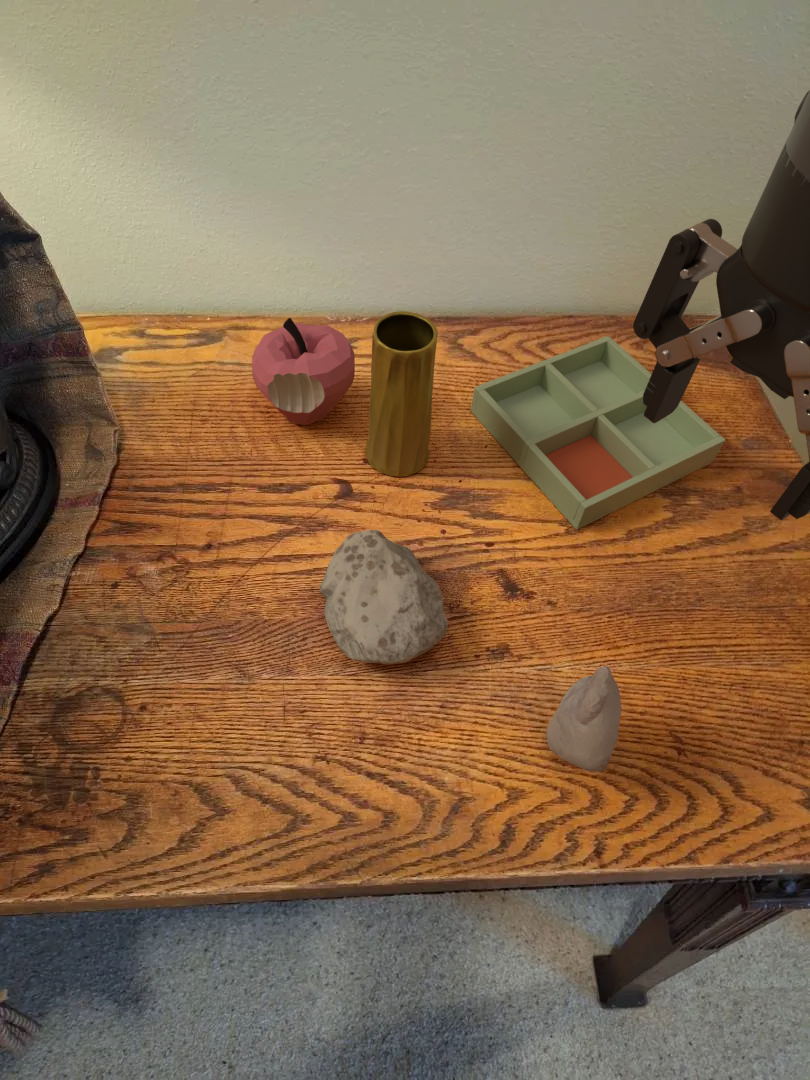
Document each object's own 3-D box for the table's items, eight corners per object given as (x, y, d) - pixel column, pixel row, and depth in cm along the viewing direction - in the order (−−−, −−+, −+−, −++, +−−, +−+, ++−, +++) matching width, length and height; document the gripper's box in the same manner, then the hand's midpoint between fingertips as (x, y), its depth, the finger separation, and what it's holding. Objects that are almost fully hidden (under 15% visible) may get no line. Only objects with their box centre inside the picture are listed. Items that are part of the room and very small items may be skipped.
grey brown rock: (595, 791, 51) (640, 739, 43) (546, 790, 51) (582, 739, 43) (583, 712, 55) (622, 652, 47) (537, 712, 55) (569, 651, 46)
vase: (371, 481, 67) (374, 359, 55) (360, 433, 70) (361, 310, 59) (435, 474, 68) (451, 352, 56) (421, 427, 71) (434, 304, 60)
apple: (248, 436, 69) (234, 353, 61) (271, 376, 75) (260, 292, 66) (346, 450, 69) (345, 369, 61) (363, 389, 74) (363, 306, 66)
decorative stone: (478, 615, 59) (487, 582, 55) (385, 703, 54) (387, 674, 50) (373, 528, 64) (374, 492, 60) (278, 602, 59) (272, 568, 55)
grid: (712, 462, 71) (726, 439, 68) (576, 530, 65) (585, 508, 62) (599, 359, 79) (608, 335, 76) (470, 410, 73) (474, 386, 71)
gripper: (1143, 217, 25) (872, 512, 38) (790, 64, 31) (663, 362, 44) (1045, 291, 22) (788, 583, 35) (677, 105, 28) (576, 411, 41)
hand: (718, 459), depth 39 cm, fingers open, 8 cm apart
